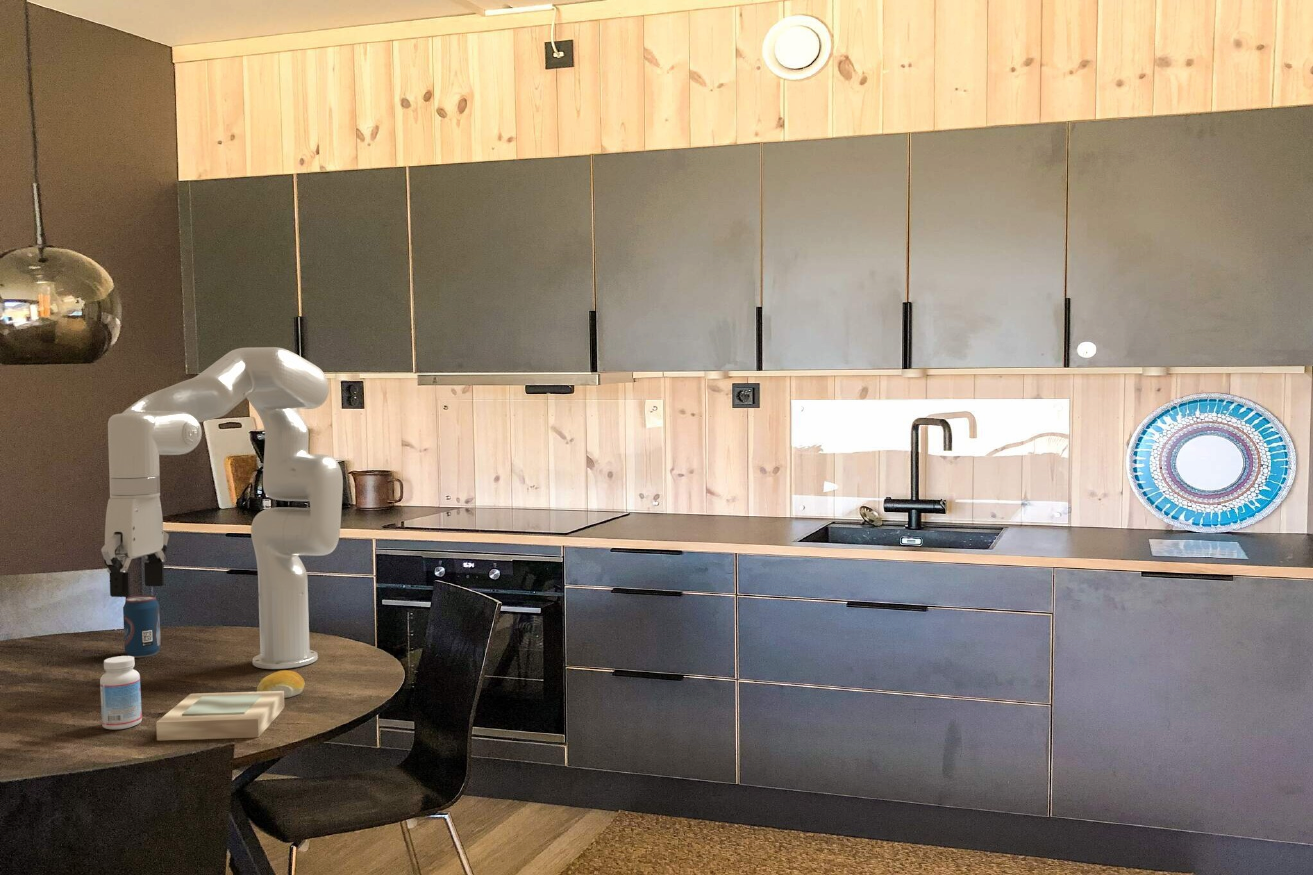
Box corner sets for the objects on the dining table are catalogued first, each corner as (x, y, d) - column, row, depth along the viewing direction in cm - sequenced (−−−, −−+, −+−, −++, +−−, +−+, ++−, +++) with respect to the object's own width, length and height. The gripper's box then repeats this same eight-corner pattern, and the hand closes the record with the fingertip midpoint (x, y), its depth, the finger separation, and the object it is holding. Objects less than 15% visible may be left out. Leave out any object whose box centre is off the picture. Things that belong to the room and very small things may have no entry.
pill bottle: (149, 721, 190) (147, 656, 189) (119, 732, 185) (116, 665, 184) (124, 717, 193) (122, 653, 192) (93, 727, 187) (90, 661, 186)
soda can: (120, 654, 237) (118, 597, 236) (155, 648, 241) (152, 593, 240) (130, 660, 231) (128, 602, 231) (165, 654, 236) (163, 598, 235)
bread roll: (306, 685, 212) (305, 664, 212) (302, 698, 204) (301, 676, 203) (260, 688, 211) (259, 667, 210) (254, 701, 202) (253, 679, 202)
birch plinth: (191, 710, 196) (190, 691, 196) (284, 707, 197) (283, 689, 197) (156, 740, 180) (156, 720, 180) (258, 737, 181) (257, 717, 181)
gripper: (143, 483, 194) (146, 581, 195) (80, 492, 177) (84, 600, 177) (184, 483, 193) (187, 582, 194) (125, 493, 176) (128, 601, 176)
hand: (137, 591), depth 186 cm, fingers open, 9 cm apart
